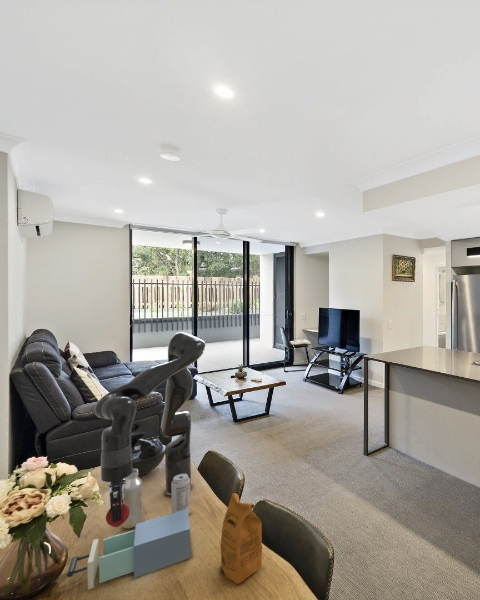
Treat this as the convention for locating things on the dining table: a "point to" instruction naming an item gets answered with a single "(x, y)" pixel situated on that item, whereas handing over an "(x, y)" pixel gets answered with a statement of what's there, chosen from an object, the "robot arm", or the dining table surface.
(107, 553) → the drawer
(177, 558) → the cabinet
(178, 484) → the energy drink can
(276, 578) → the dining table surface
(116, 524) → the onion
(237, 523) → the coffee package
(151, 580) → the dining table surface
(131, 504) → the plastic bottle
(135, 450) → the coal bowl
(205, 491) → the dining table surface
